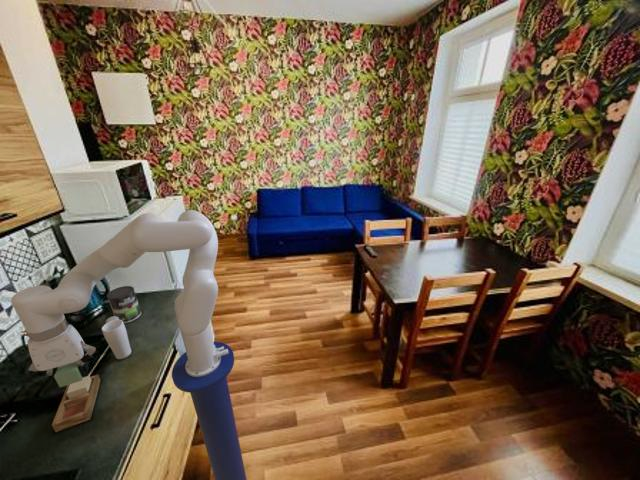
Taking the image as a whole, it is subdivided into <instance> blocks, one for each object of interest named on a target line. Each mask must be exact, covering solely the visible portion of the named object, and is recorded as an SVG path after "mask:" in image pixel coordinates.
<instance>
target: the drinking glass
mask: <svg viewBox="0 0 640 480" xmlns="http://www.w3.org/2000/svg"><path fill="white" fill-rule="evenodd" d="M101 332H102V334H103V337H104V339H105V341H106V343H107V345H108V346H109V348H110V350H111V352H112V353H113V356H114V357H115V359H117V360H123V359H126V358H128V357H129V356H130V355H131V354H132V348H131V344H130V340H129V336H128V331H127V329H126V325H125V323H123V321H122V320H113V321H110V322H108V323H106V322H105V324H104V325H103V326H102V327H101Z"/></svg>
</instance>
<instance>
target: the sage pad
mask: <svg viewBox="0 0 640 480" xmlns="http://www.w3.org/2000/svg"><path fill="white" fill-rule="evenodd" d="M78 366H79V365H78V364H77V363H76V362H73V363H69V364H66V365H63V366H59V367H58V368H57V371H56V373H55V375H54V378H55V379H56V381H57V383H58V385H57V386H58V387H59V388H63V387H67V385H69V384H72V383H75V382H79V381H82V378H84V377H82V375H81V373H80V371H79V369H78Z"/></svg>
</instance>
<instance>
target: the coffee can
mask: <svg viewBox="0 0 640 480" xmlns="http://www.w3.org/2000/svg"><path fill="white" fill-rule="evenodd" d="M106 298H107V300H108V302H109V305H110V308H111V311H112V313H113V316H117V317H118V318H119V320H122V321H123V323H124V324H127V323H128V324H129V323H131V322H134V321H135V320H137V319H139V317H141V316H142V311H141V307H140V305H139V300H138V298H137V294H136V291H135V288H134V287H133V286H131V285H123V286H119V287H116V288H114V289H112V290H110V291H109V292H108V293H107V294H106Z"/></svg>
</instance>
